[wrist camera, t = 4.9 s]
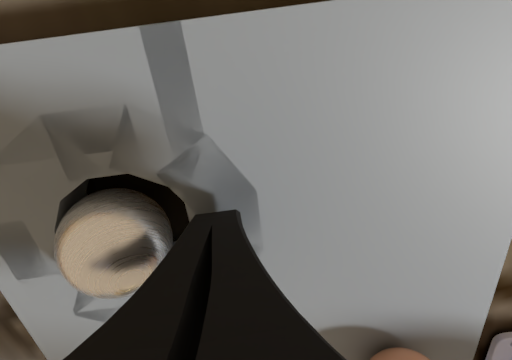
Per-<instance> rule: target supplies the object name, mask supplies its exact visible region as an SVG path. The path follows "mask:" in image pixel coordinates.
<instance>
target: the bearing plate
mask: <svg viewBox="0 0 512 360" xmlns="http://www.w3.org/2000/svg"><path fill="white" fill-rule="evenodd" d="M121 174H131V175H134V176H137V177H140V178H143V179H146V180H149V181H152V182H155V183H158V184H161V185H164V186H167V187H169V188H170V189H171V190H172V191H173V192H174V193H175V194H176V195H177V196H178V197H179V198H180V199H181V200H182V201H184V202H185V206H186V210H187V214H188V218H189V222H190V221H191V220H192V218H193V217H194V216H195V215H196V214H204V213H212V212H219V211H227V210H234V209H236V210H238V211H239V212H240V214H241V220H242V225H243V228H244V230H245V233H246V235H247V237H248V239H249V241H250V243H251V245H252V247H253V249H254V251H255V253H256V254H257V256H258V258H259V260H260V261H261V263H262V264H263V266H264V267H265V269H266V270H267V272H268V274H269V275H270V276H271V278H272V279H273V281H274V282H275V283H276V285H277V286H278V287H279V289H280V290H281V291H282V292H283V294H284V295H285V296H286V298H287V299H288V300H289V301H290V302H291V304H292V305H293V306H294V307H295V308H296V309H297V311H298V312H299V313H300V314H301V315H302V316H303V317H304V318H305V319H306V320H307V321H308V322H309V323H310V324H311V325H312V326H313V328H314V329H315V330H316V331H317V332H318V333H319V334H320V335H321V336H322V337H323V338H324V339H325V340H326V341H327V342H328V343H329V344H330V345H331V346H332V347H333V348H334V349H336V350H337V351H338V352H339V353H340V354H341V355H342V356H343V357H344V358H345V359H346V360H370V358H371V357H372V356H374V355H375V354H376V353H378V352H380V351H382V350H384V349H388V348H394V347H401V348H407V349H411V350H414V351H417V352H419V353H421V354H423V355H425V356H426V357H428V358H429V359H430V360H473V358H474V355H475V352H476V349H477V346H478V343H479V339H480V336H481V333H482V330H483V327H484V324H485V321H486V317H487V314H488V311H489V308H490V305H491V302H492V299H493V295H494V292H495V289H496V286H497V283H498V280H499V277H500V273H501V270H502V267H503V264H504V261H505V258H506V255H507V251H508V248H509V245H510V242H511V239H512V0H327V1H320V2H312V3H305V4H297V5H290V6H282V7H275V8H267V9H259V10H252V11H244V12H237V13H229V14H222V15H214V16H207V17H199V18H192V19H184V20H177V21H169V22H161V23H154V24H146V25H139V26H131V27H124V28H116V29H109V30H101V31H94V32H86V33H79V34H71V35H64V36H56V37H48V38H41V39H33V40H26V41H18V42H11V43H3V44H0V291H1V292H2V294H3V295H4V297H5V298H6V300H7V301H8V303H9V304H10V306H11V307H12V309H13V310H14V312H15V313H16V314H17V316H18V317H19V319H20V320H21V322H22V323H23V325H24V326H25V328H26V329H27V331H28V332H29V334H30V335H31V337H32V338H33V340H34V341H35V343H36V344H37V346H38V347H39V349H40V350H41V351H42V353H43V354H44V356H45V357H46V359H47V360H63V359H64V358H65V357H67V356H68V355H69V354H70V353H71V352H72V351H74V350H75V349H76V348H77V347H78V346H79V345H80V344H81V343H83V342H84V341H85V340H86V339H87V338H88V337H89V336H91V335H92V334H93V333H94V332H95V331H96V330H97V329H98V328H100V327H101V326H102V325H103V324H104V323H105V322H106V321H107V320H108V319H109V318H110V317H112V316H113V315H114V314H115V313H116V312H117V311H118V310H119V309H120V308H121V307H122V306H123V305H124V304H125V303H126V302H127V301H128V300H129V298H130V297H131V296H132V295H131V296H128V297H124V298H119V299H99V298H94V297H90V296H87V295H85V294H83V293H81V292H79V291H77V290H76V289H75V288H73V287H72V286H71V285H70V284H69V283H68V282H67V281H66V280H65V279H64V278H63V276H62V275H61V273H60V271H59V269H58V267H57V264H56V261H55V257H54V239H55V234H56V231H57V228H58V226H59V224H60V222H61V220H62V218H63V217H64V215H65V214H66V213H67V211H68V210H69V209H70V208H71V207H72V206H73V205H74V204H76V203H77V202H78V201H80V200H81V199H82V198H84V197H86V196H88V195H87V193H86V191H87V187H88V182H89V179H90V178H98V177H106V176H113V175H121ZM175 242H176V241H174V242H173V244H172V247H173V245H174V244H175Z"/></svg>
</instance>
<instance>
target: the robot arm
mask: <svg viewBox="0 0 512 360" xmlns="http://www.w3.org/2000/svg"><path fill="white" fill-rule="evenodd" d="M63 360H346V359H345V358H344V357H343V356H342V355H341V354H340V353H339V352H338V351H337V350H336V349H334V348H333V347H332V346H331V345H330V344H329V343H328V342H327V341H326V340H325V339H324V338H323V337H322V336H321V335H320V334H319V333H318V332H317V331H316V330H315V329H314V328H313V326H312V325H311V324H310V323H309V322H308V321H307V320H306V319H305V318H304V317H303V316H302V315H301V314H300V313H299V312H298V311H297V309H296V308H295V307H294V306H293V305H292V304H291V302H290V301H289V300H288V299H287V298H286V296H285V295H284V294H283V292H282V291H281V290H280V289H279V287H278V286H277V285H276V283H275V282H274V281H273V279H272V278H271V276H270V275H269V274H268V272H267V270H266V269H265V267H264V266H263V264H262V263H261V261H260V260H259V258H258V256H257V254H256V253H255V251H254V249H253V247H252V245H251V243H250V241H249V239H248V237H247V235H246V233H245V230H244V228H243V225H242V220H241V214H240V212H239V211H238V210H236V209H234V210H227V211H219V212H212V213H204V214H196V215H195V216H194V217H193V218H192V220H191V221H190V223H189V224H188V225H187V227H186V228H185V230H184V231H183V233H182V234H181V235H180V237H179V238H178V240H177V241H176V242H175V244H174V245H173V247H172V248H171V249H170V251H169V252H168V253H167V255H166V256H165V257H164V259H163V260H162V261H161V262H160V264H159V265H158V266H157V267H156V269H155V270H154V271H153V272H152V273H151V275H150V276H149V277H148V278H147V279H146V281H145V282H144V283H143V284H142V285H141V286H140V288H139V289H138V290H137V291H136V292H135V293H134V294H133V295H132V296H131V297H130V298H129V300H128V301H127V302H126V303H125V304H124V305H123V306H122V307H121V308H120V309H119V310H118V311H117V312H116V313H115V314H114V315H113V316H112V317H110V318H109V319H108V320H107V321H106V322H105V323H104V324H103V325H102V326H101V327H100V328H98V329H97V330H96V331H95V332H94V333H93V334H92V335H91V336H89V337H88V338H87V339H86V340H85V341H84V342H83V343H81V344H80V345H79V346H78V347H77V348H76V349H75V350H74V351H72V352H71V353H70V354H69V355H68V356H67V357H65V358H64V359H63ZM485 360H512V332H505V333H500V334H497V335H496V336H494V337H493V339H492V342H491V345H490V347H489V350H488V353H487V356H486V359H485Z"/></svg>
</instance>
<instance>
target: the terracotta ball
mask: <svg viewBox="0 0 512 360" xmlns="http://www.w3.org/2000/svg"><path fill="white" fill-rule="evenodd" d="M370 360H430V359H429V358H428V357H426V356H425V355H423V354H421V353H419V352H417V351H414V350H411V349H407V348H401V347H394V348H388V349H384V350H382V351H380V352H378V353H376V354H375V355H374V356H372V357H371V358H370Z"/></svg>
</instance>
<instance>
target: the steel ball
mask: <svg viewBox="0 0 512 360" xmlns="http://www.w3.org/2000/svg"><path fill="white" fill-rule="evenodd" d="M172 244H173V234H172V229H171V224H170V222H169V219H168V217H167V215H166V214H165V212H164V211H163V209H162V208H161V207H160V206H159V205H158V204H157V203H156V202H155V201H154V200H153V199H152V198H150V197H148V196H147V195H145V194H143V193H141V192H138V191H135V190H131V189H125V188H111V189H104V190H100V191H97V192H94V193H92V194H90V195H88V196H86V197H84V198H82V199H81V200H80V201H78V202H77V203H76V204H74V205H73V206H72V207H71V208H70V209H69V210H68V211H67V213H66V214H65V215H64V217H63V218H62V220H61V222H60V224H59V226H58V228H57V231H56V234H55V239H54V257H55V261H56V264H57V267H58V269H59V271H60V273H61V275H62V276H63V278H64V279H65V280H66V281H67V282H68V283H69V284H70V285H71V286H72V287H73V288H75V289H76V290H77V291H79V292H81V293H83V294H85V295H87V296H90V297H94V298H99V299H119V298H124V297H128V296H131V295H133V294H134V293H135V292H136V291H137V290H138V289H139V288H140V286H141V285H142V284H143V283H144V282H145V281H146V279H147V278H148V277H149V276H150V275H151V273H152V272H153V271H154V270H155V269H156V267H157V266H158V265H159V264H160V262H161V261H162V260H163V259H164V257H165V256H166V255H167V253H168V252H169V251H170V249H171V248H172Z"/></svg>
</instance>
